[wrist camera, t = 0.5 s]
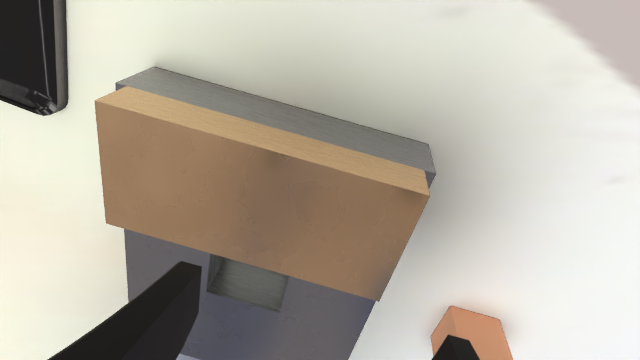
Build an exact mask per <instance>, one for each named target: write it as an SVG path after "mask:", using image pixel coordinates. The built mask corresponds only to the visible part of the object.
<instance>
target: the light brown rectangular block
mask: <svg viewBox="0 0 640 360" xmlns="http://www.w3.org/2000/svg"><path fill="white" fill-rule="evenodd" d="M448 334H449V335H452V336H456V337H460V338H463V339H467V340H469V341H470V342H471V344H472V346H473V348H474V350H475V351H476V353H477V355H478V357H479V359H480V360H513V358H512V355H511V352H510V349H509V346H508V343H507V340H506V337H505V334H504V331H503V328H502V325H501V322H500V320H499V319H495V318H492V317H488V316H485V315H481V314H478V313H474V312H471V311H467V310H464V309H461V308H457V307H454V306H450V307H449V309H448V310H447V312H446V313H445V315H444V317H443V318H442V320H441V321H440V323H439V324H438V326H437V328H436V329H435V331H434V332H433V334H432V335H431V342H432V349H433V357H434V355H435V354H436V352H437V351H438V349H439V348H440V346H441V345H442V343H443V341H444V340H445V338H446V337H447V335H448Z"/></svg>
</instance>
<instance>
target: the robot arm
mask: <svg viewBox="0 0 640 360" xmlns="http://www.w3.org/2000/svg"><path fill="white" fill-rule="evenodd" d="M201 272H202V266H198V265H195V264H191V263H187V262H184V261H180V262H178V263H177V264H175V265H174V266H173V267H172V268H171V269H170V270H168V271H167V272H166V273H165V274H164V275H163V276H161V277H160V278H159V279H158V280H157V281H155V282H154V283H153V284H152V285H151V286H149V287H148V288H147V289H146V290H144V291H143V292H142V293H141V294H139V295H138V296H137V297H136V298H134V299H133V300H132V301H130V302H129V303H128V304H126V305H125V306H124V307H122V308H121V309H120V310H119V311H117V312H116V313H115V314H113V315H112V316H111V317H109V318H108V319H107V320H105V321H104V322H102V323H101V324H100V325H98V326H97V327H95V328H94V329H92V330H91V331H90V332H88V333H87V334H85V335H84V336H82V337H81V338H80V339H78V340H77V341H75V342H74V343H72V344H71V345H69V346H68V347H66V348H65V349H63V350H62V351H60V352H59V353H57V354H56V355H54V356H52V357H51V358H49V359H48V360H200V359H196V358H193V357H189V356H186V355H182V354H180V352H181V350H182V348H183V346H184V344H185V342H186V340H187V338H188V335H189V333H190V331H191V329H192V327H193V324H194V322H195V320H196V318H197V315H198V313H199V299H200V286H201ZM432 360H480V359H479V357H478V355H477V353H476V351H475V350H474V348H473V346H472V344H471V342H470V341H469V340H467V339H463V338H460V337H456V336H452V335H449V334H448V335H447V337H446V338H445V340H444V341H443V343H442V345H441V346H440V348H439V349H438V351H437V352H436V354H435V355H434V357H433V359H432Z"/></svg>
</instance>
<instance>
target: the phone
mask: <svg viewBox="0 0 640 360" xmlns="http://www.w3.org/2000/svg"><path fill="white" fill-rule="evenodd" d="M0 100H1V101H4V102H7V103H9V104H12V105H15V106H17V107H20V108H23V109H25V110H28V111H30V112H33V113H36V114H39V115H43V116H45V115H51V114H53V113H56V112H58V111H60V110H62V109H64V108H65V107H66V105H67V103H68V68H67V27H66V0H0Z"/></svg>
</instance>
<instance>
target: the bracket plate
mask: <svg viewBox="0 0 640 360" xmlns="http://www.w3.org/2000/svg"><path fill="white" fill-rule="evenodd" d="M95 110H96V121H97V132H98V142H99V153H100V164H101V175H102V185H103V196H104V207H105V218H106V223H107V224H110V225H114V226H117V227H121V228H124V233H125V250H126V267H127V283H128V300H129V302H130V301H132V300H133V299H134V298H136V297H137V296H138V295H139V294H141V293H142V292H143V291H144V290H146V289H147V288H148V287H149V286H151V285H152V284H153V283H154V282H155V281H157V280H158V279H159V278H160V277H161V276H163V275H164V274H165V273H166V272H167V271H168V270H170V269H171V268H172V267H173V266H174V265H175V264H177V263H178V262H180V261H184V262H187V263H191V264H195V265H198V266H202V272H201V286H200V299H199V313H198V315H197V318H196V320H195V322H194V324H193V327H192V329H191V331H190V333H189V335H188V338H187V340H186V342H185V344H184V346H183V348H182V350H181V352H180V354H182V355H186V356H189V357H193V358H196V359H200V360H348V359H349V357H350V355H351V352H352V350H353V348H354V346H355V344H356V342H357V340H358V338H359V336H360V333H361V331H362V329H363V327H364V325H365V323H366V321H367V319H368V316H369V314H370V312H371V310H372V308H373V306H374V304H375V302H376V301H380V298H381V296H382V294H383V292H384V290H385V288H386V286H387V284H388V282H389V280H390V278H391V276H392V273H393V271H394V269H395V267H396V265H397V263H398V261H399V259H400V257H401V255H402V253H403V251H404V249H405V246H406V244H407V242H408V240H409V238H410V236H411V234H412V232H413V230H414V228H415V226H416V224H417V221H418V219H419V217H420V215H421V213H422V211H423V209H424V207H425V205H426V203H427V201H428V199H429V196H430V194H429V187H430V185H431V183H432V181H433V179H434V177H435V175H436V172H435V168H434V164H433V161H432V157H431V153H430V149H429V145H428V144H425V143H421V142H418V141H414V140H411V139H407V138H404V137H400V136H397V135H393V134H390V133H386V132H383V131H379V130H376V129H372V128H368V127H365V126H361V125H358V124H354V123H351V122H347V121H344V120H340V119H337V118H333V117H330V116H326V115H323V114H319V113H315V112H312V111H308V110H305V109H301V108H298V107H294V106H291V105H287V104H284V103H280V102H277V101H273V100H270V99H266V98H262V97H259V96H255V95H252V94H248V93H245V92H241V91H238V90H234V89H231V88H227V87H224V86H220V85H217V84H213V83H209V82H206V81H202V80H199V79H195V78H192V77H188V76H185V75H181V74H178V73H174V72H171V71H167V70H164V69H160V68H156V67H152V68H150V69H147V70H145V71H142V72H140V73H138V74H135V75H133V76H131V77H128V78H126V79H123V80H121V81H119V82H116V91H115V92H112V93H110V94H108V95H106V96H104V97H101V98H99V99H97V100H95Z"/></svg>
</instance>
